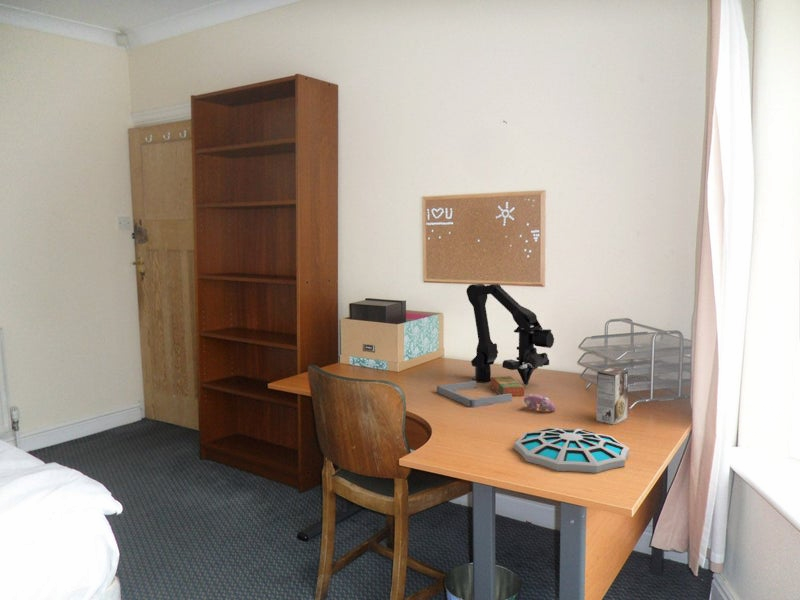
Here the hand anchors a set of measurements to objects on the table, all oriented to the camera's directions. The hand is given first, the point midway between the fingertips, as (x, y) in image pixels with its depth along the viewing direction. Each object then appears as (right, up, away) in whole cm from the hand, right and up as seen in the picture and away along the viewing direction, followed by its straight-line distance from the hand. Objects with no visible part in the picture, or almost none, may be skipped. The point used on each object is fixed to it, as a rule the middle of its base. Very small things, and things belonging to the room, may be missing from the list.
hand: (525, 384), depth 237 cm
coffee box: (+19, -6, -40) cm, 45 cm away
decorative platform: (-2, -10, -69) cm, 69 cm away
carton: (-8, -3, -4) cm, 9 cm away
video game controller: (-1, -5, -29) cm, 30 cm away
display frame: (-21, -3, -11) cm, 24 cm away
